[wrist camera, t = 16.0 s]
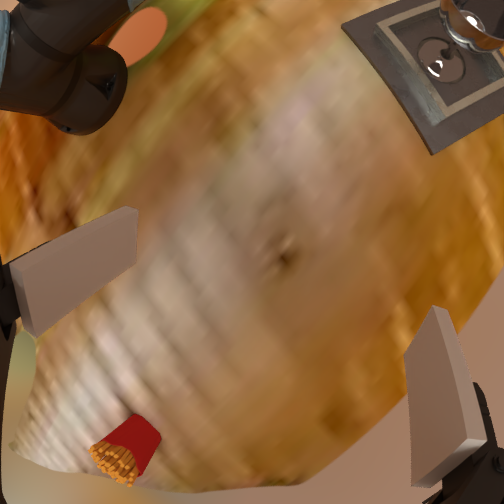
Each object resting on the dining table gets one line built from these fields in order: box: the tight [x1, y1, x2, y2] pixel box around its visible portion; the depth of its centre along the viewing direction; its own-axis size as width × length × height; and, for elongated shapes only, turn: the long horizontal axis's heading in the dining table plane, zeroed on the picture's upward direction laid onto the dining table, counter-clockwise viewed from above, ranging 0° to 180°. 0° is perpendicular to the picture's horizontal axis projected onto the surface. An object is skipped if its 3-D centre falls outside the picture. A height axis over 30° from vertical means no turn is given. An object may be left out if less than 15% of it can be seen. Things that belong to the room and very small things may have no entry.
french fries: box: [88, 414, 161, 487], centre depth 44 cm, size 9×4×13 cm, turn 45°
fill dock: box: [341, 0, 504, 155], centre depth 29 cm, size 20×20×4 cm
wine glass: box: [417, 0, 504, 84], centre depth 22 cm, size 8×8×15 cm
